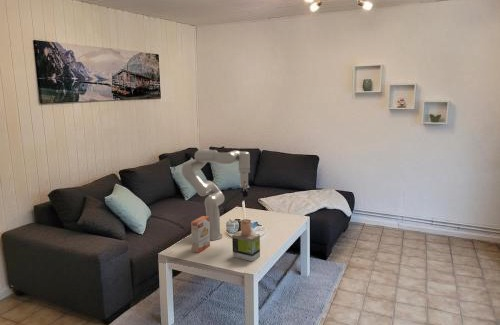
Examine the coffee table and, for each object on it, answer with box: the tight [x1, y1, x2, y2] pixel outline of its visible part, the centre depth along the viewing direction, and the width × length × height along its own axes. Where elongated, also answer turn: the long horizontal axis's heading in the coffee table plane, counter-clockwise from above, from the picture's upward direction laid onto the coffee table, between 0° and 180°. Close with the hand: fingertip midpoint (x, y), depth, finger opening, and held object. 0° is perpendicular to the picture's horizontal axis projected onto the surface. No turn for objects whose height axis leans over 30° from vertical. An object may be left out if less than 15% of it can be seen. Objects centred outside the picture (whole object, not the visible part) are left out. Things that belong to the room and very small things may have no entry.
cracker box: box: [190, 215, 211, 254], centre depth 257 cm, size 14×6×21 cm, turn 153°
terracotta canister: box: [240, 218, 252, 236], centre depth 243 cm, size 6×6×9 cm
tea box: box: [231, 230, 261, 262], centre depth 245 cm, size 15×10×15 cm
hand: (244, 194), depth 263 cm, fingers open, 9 cm apart
